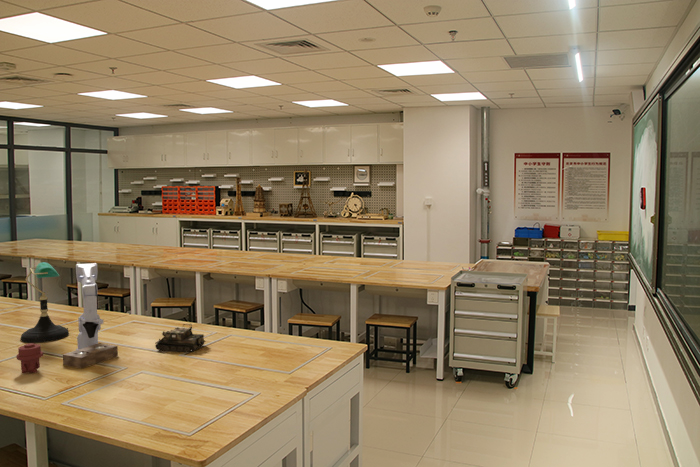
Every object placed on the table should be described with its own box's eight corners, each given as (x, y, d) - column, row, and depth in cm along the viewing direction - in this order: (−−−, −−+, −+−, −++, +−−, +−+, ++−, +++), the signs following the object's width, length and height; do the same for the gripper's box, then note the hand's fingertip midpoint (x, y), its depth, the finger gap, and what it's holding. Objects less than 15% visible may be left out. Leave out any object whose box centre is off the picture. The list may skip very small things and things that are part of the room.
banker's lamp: (71, 339, 280) (68, 265, 277) (21, 346, 267) (17, 269, 264) (66, 328, 302) (63, 260, 299) (19, 334, 289) (16, 263, 286)
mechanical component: (32, 366, 236) (49, 369, 233) (11, 374, 227) (28, 376, 223) (31, 340, 235) (47, 342, 232) (10, 346, 226) (27, 348, 222)
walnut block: (63, 365, 239) (62, 354, 238) (99, 352, 257) (99, 342, 256) (81, 368, 234) (81, 357, 233) (117, 356, 252) (117, 345, 252)
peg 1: (75, 364, 240) (74, 353, 239) (82, 361, 243) (82, 351, 243) (81, 365, 238) (80, 354, 238) (88, 362, 242) (88, 352, 241)
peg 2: (93, 357, 249) (93, 347, 248) (100, 355, 252) (100, 345, 252) (99, 358, 247) (99, 349, 247) (106, 356, 251) (106, 346, 250)
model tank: (167, 344, 273) (166, 316, 272) (207, 345, 270) (206, 317, 269) (154, 351, 260) (153, 322, 259) (196, 353, 257) (196, 323, 256)
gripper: (72, 309, 247) (73, 337, 248) (94, 312, 241) (95, 341, 242) (85, 306, 253) (86, 334, 254) (106, 309, 247) (107, 337, 248)
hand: (91, 337), depth 248 cm, fingers closed
